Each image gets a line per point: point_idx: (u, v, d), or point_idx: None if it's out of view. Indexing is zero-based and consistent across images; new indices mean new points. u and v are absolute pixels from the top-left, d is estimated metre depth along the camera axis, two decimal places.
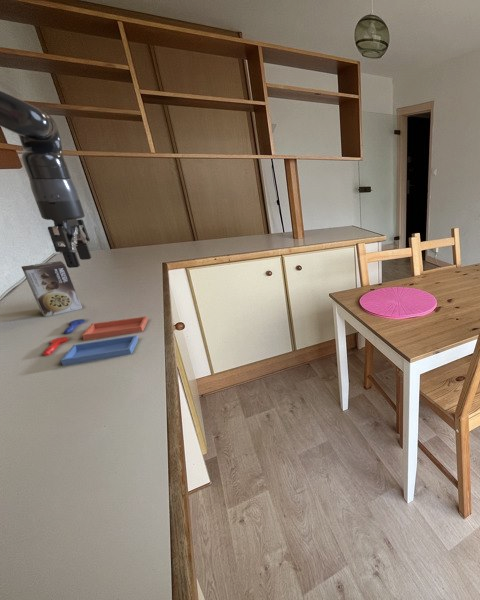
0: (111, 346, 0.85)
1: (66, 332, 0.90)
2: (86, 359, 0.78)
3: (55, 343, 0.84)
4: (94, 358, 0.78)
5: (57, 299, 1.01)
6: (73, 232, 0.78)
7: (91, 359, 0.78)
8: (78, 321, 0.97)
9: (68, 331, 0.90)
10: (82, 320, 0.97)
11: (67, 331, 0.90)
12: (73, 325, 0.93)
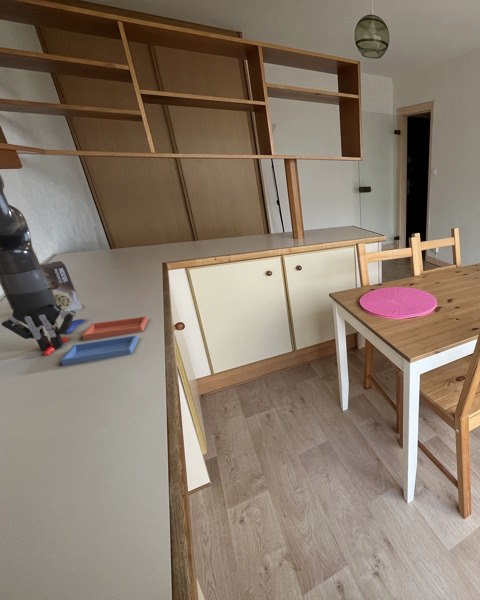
0: (111, 346, 0.85)
1: (66, 332, 0.90)
2: (86, 359, 0.78)
3: None
4: (94, 358, 0.78)
5: (57, 299, 1.01)
6: None
7: (91, 359, 0.78)
8: (78, 321, 0.97)
9: (68, 331, 0.90)
10: (82, 320, 0.97)
11: (67, 331, 0.90)
12: (73, 325, 0.93)
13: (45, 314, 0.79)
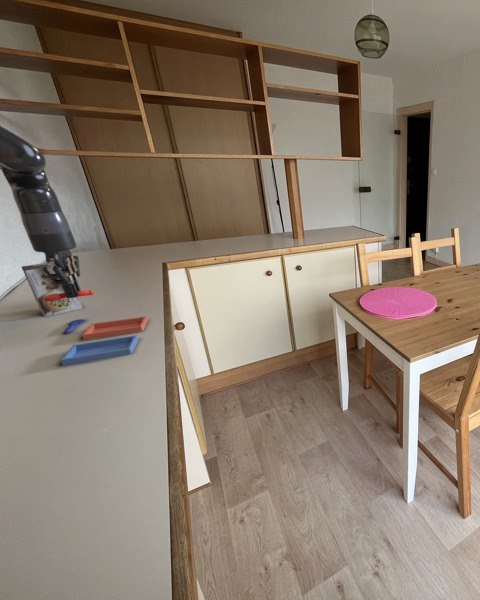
0: (111, 346, 0.85)
1: (66, 332, 0.90)
2: (86, 359, 0.78)
3: None
4: (94, 358, 0.78)
5: None
6: None
7: (91, 359, 0.78)
8: (78, 321, 0.97)
9: (68, 331, 0.90)
10: (82, 320, 0.97)
11: (67, 331, 0.90)
12: (73, 325, 0.93)
13: None
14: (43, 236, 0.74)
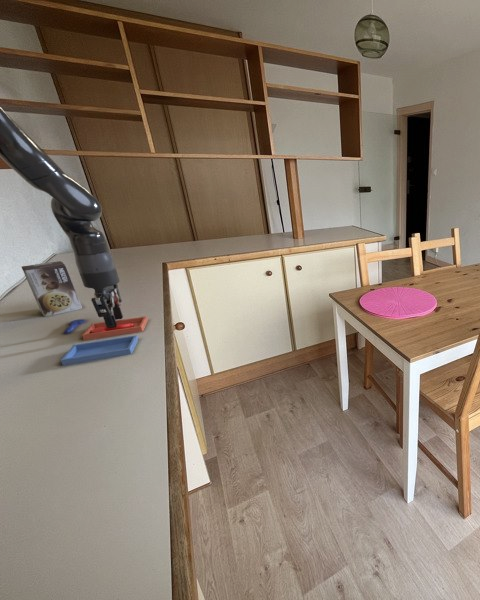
0: (111, 346, 0.85)
1: (66, 332, 0.90)
2: (86, 359, 0.78)
3: None
4: (94, 358, 0.78)
5: (57, 299, 1.01)
6: None
7: (91, 359, 0.78)
8: (78, 321, 0.97)
9: (68, 331, 0.90)
10: (82, 320, 0.97)
11: (67, 331, 0.90)
12: (73, 325, 0.93)
13: None
14: (94, 274, 0.84)
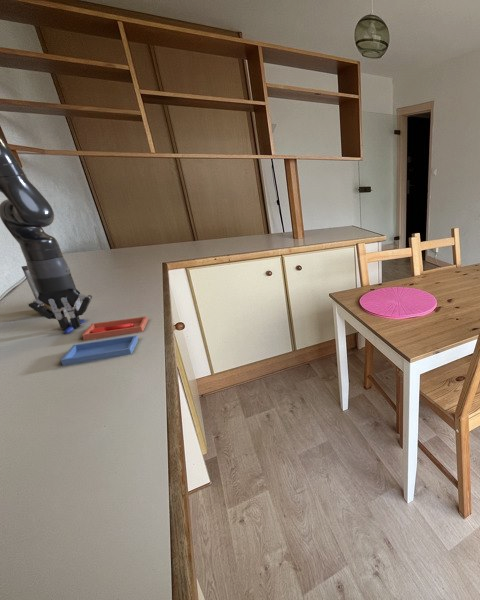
0: (111, 346, 0.85)
1: (66, 332, 0.90)
2: (86, 359, 0.78)
3: (112, 326, 0.93)
4: (94, 358, 0.78)
5: None
6: None
7: (91, 359, 0.78)
8: None
9: (68, 331, 0.90)
10: (82, 320, 0.97)
11: (67, 331, 0.90)
12: None
13: (66, 297, 0.89)
14: None
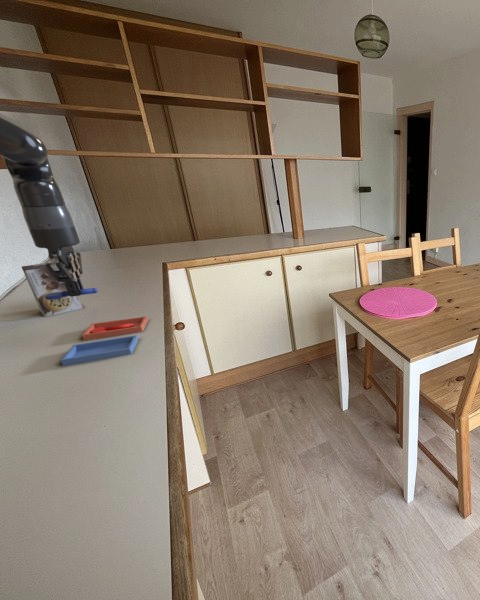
0: (111, 346, 0.85)
1: (96, 289, 0.81)
2: (86, 359, 0.78)
3: (112, 326, 0.93)
4: (94, 358, 0.78)
5: (57, 299, 1.01)
6: None
7: (91, 359, 0.78)
8: (56, 293, 0.78)
9: None
10: (54, 292, 0.78)
11: None
12: None
13: None
14: (46, 231, 0.71)
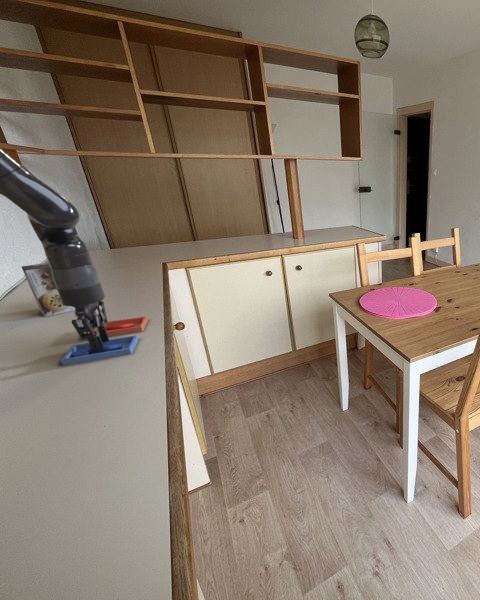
0: None
1: (121, 345, 0.83)
2: (86, 359, 0.78)
3: (112, 326, 0.93)
4: (94, 358, 0.78)
5: (57, 299, 1.01)
6: None
7: (91, 359, 0.78)
8: (82, 351, 0.80)
9: None
10: (81, 350, 0.81)
11: (120, 344, 0.83)
12: None
13: None
14: (74, 291, 0.72)
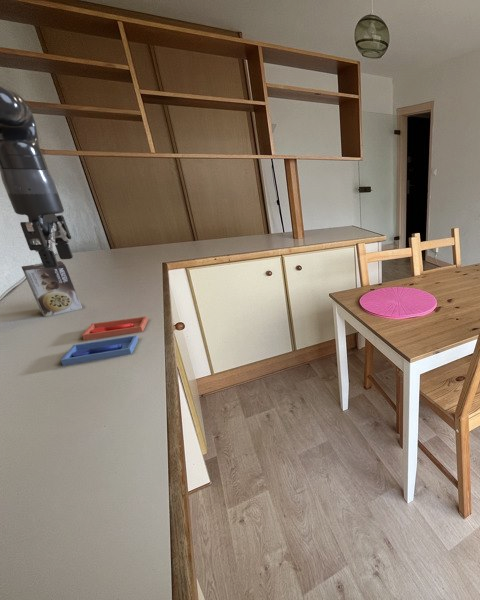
0: None
1: (121, 345, 0.83)
2: (86, 359, 0.78)
3: (112, 326, 0.93)
4: (94, 358, 0.78)
5: (57, 299, 1.01)
6: None
7: (91, 359, 0.78)
8: (82, 351, 0.80)
9: None
10: (81, 350, 0.81)
11: (120, 344, 0.83)
12: None
13: None
14: (26, 196, 0.66)
